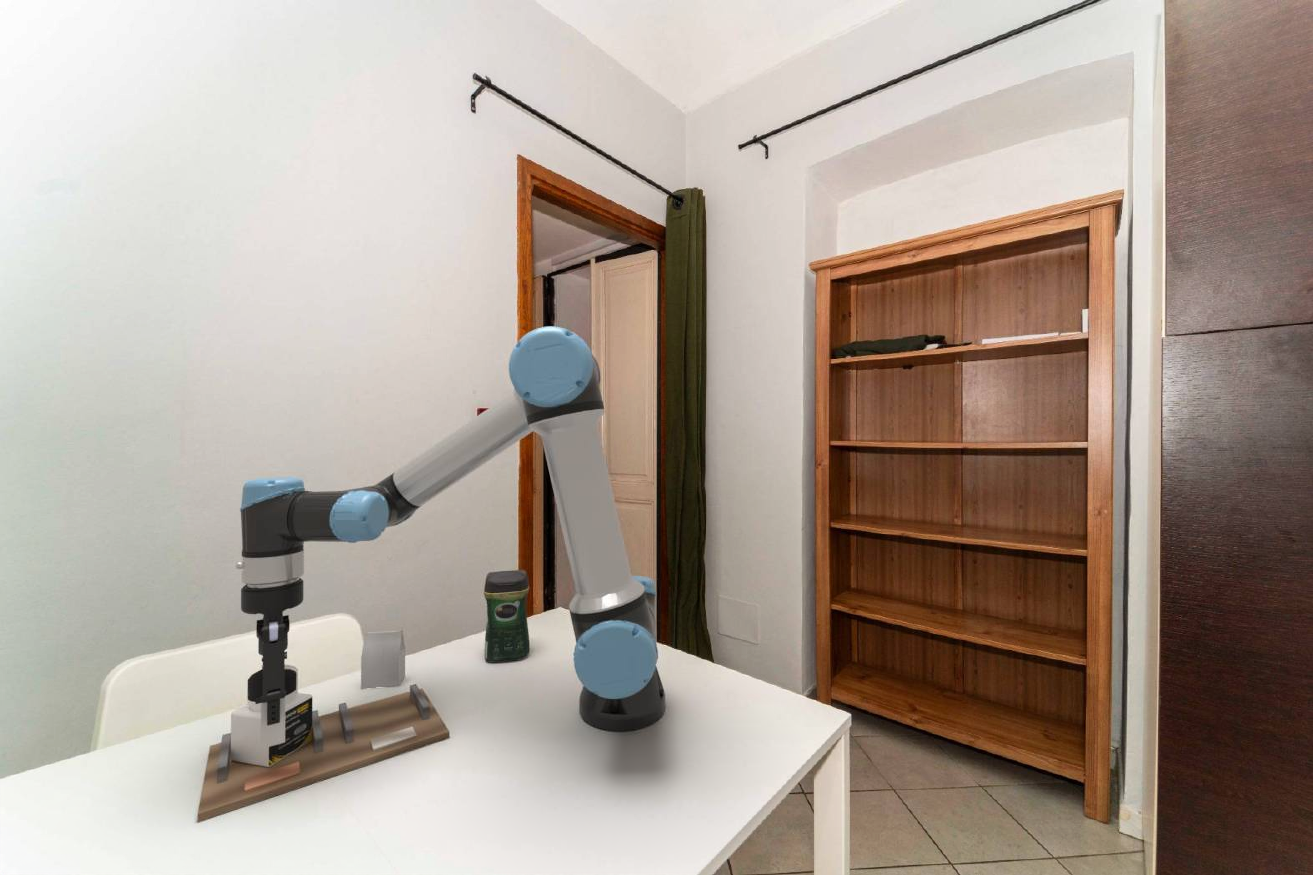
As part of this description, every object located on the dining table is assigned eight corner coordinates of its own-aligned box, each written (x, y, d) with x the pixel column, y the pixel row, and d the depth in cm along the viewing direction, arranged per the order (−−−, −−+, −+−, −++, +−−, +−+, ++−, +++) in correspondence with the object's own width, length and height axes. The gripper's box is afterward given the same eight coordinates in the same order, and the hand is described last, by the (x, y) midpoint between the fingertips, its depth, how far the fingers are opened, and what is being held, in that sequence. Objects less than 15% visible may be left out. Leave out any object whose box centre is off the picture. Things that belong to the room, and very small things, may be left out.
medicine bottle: (269, 768, 73) (269, 683, 73) (229, 761, 74) (229, 678, 74) (313, 740, 80) (313, 662, 80) (276, 734, 81) (276, 657, 81)
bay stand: (449, 737, 82) (449, 718, 82) (197, 822, 64) (197, 797, 64) (422, 693, 96) (422, 677, 96) (210, 752, 78) (210, 732, 78)
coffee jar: (529, 646, 118) (529, 565, 118) (530, 660, 111) (530, 574, 111) (484, 650, 116) (485, 568, 116) (482, 665, 108) (482, 577, 108)
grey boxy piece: (398, 686, 99) (398, 634, 99) (361, 689, 98) (361, 636, 98) (405, 677, 103) (405, 627, 103) (368, 680, 102) (368, 629, 102)
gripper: (244, 568, 85) (243, 697, 85) (237, 607, 65) (236, 775, 65) (299, 561, 89) (298, 684, 89) (308, 596, 70) (308, 754, 69)
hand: (272, 723), depth 77 cm, fingers open, 13 cm apart
